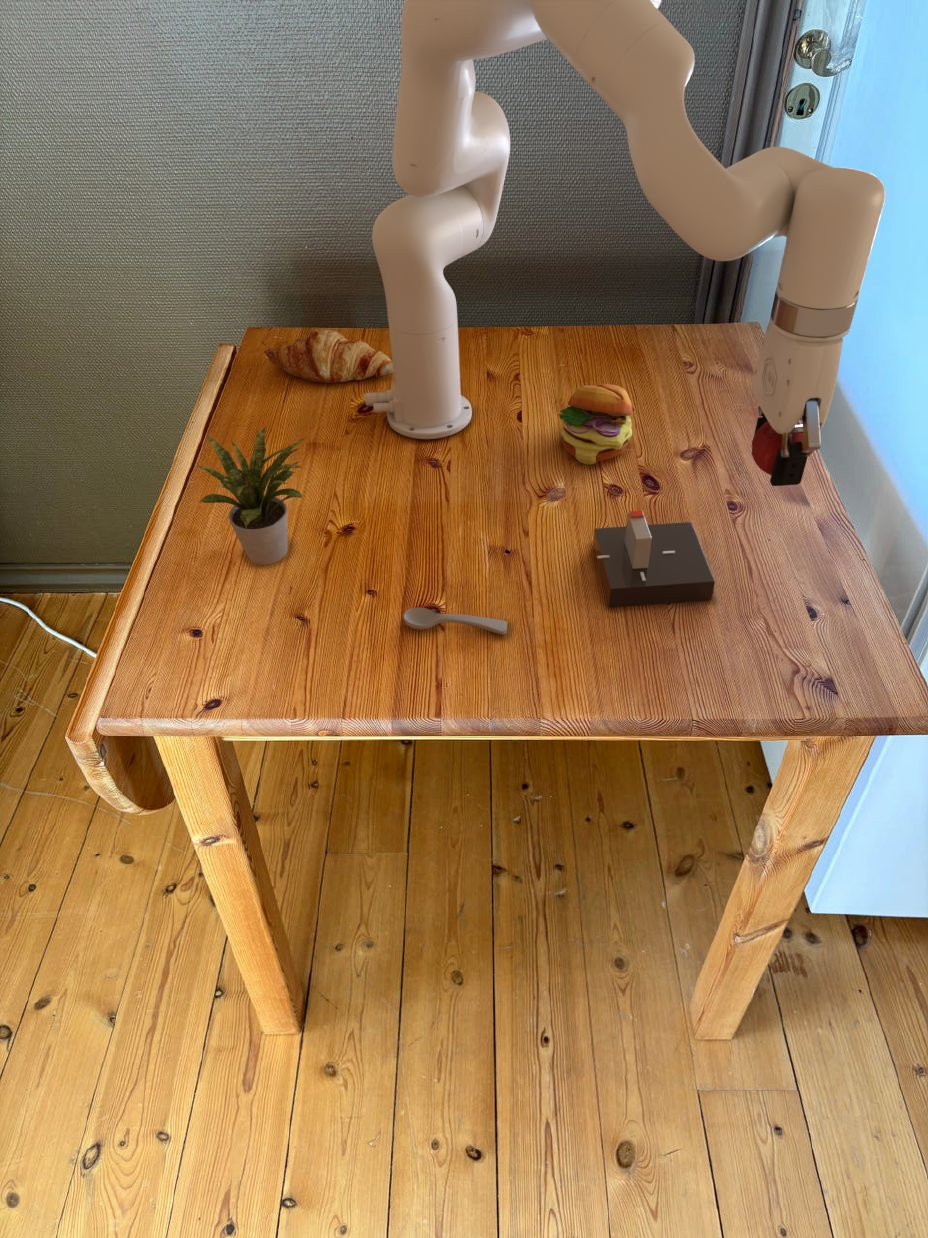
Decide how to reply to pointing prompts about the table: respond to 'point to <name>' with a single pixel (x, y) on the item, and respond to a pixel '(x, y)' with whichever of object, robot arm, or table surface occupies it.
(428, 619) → the spoon
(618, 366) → the table surface
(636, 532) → the knob
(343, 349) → the croissant
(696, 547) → the dial base
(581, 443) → the cheeseburger
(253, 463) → the house plant
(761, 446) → the onion
